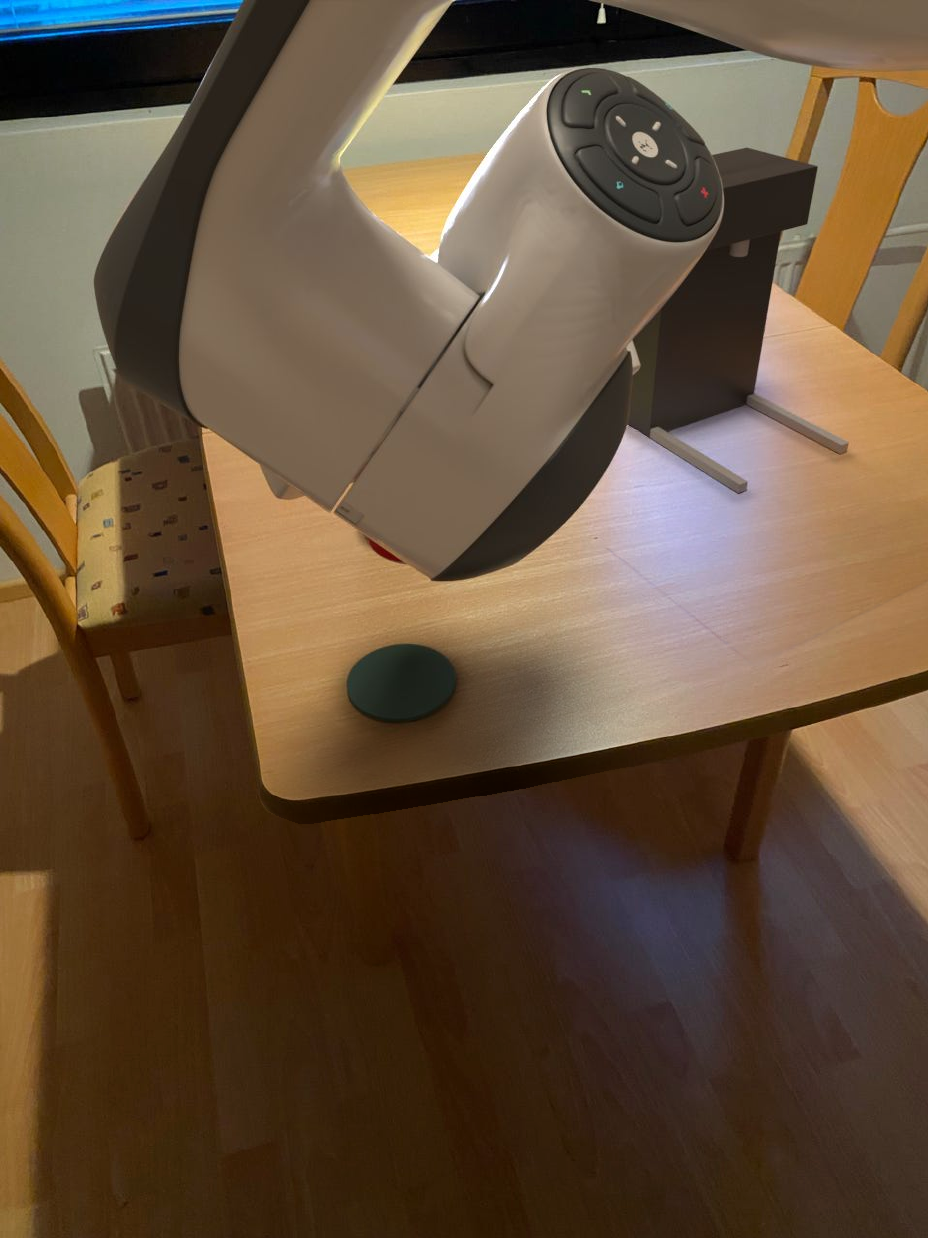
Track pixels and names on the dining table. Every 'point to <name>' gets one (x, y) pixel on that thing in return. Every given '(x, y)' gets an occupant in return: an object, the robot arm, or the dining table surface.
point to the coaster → (401, 683)
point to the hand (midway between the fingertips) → (403, 452)
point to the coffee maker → (724, 313)
